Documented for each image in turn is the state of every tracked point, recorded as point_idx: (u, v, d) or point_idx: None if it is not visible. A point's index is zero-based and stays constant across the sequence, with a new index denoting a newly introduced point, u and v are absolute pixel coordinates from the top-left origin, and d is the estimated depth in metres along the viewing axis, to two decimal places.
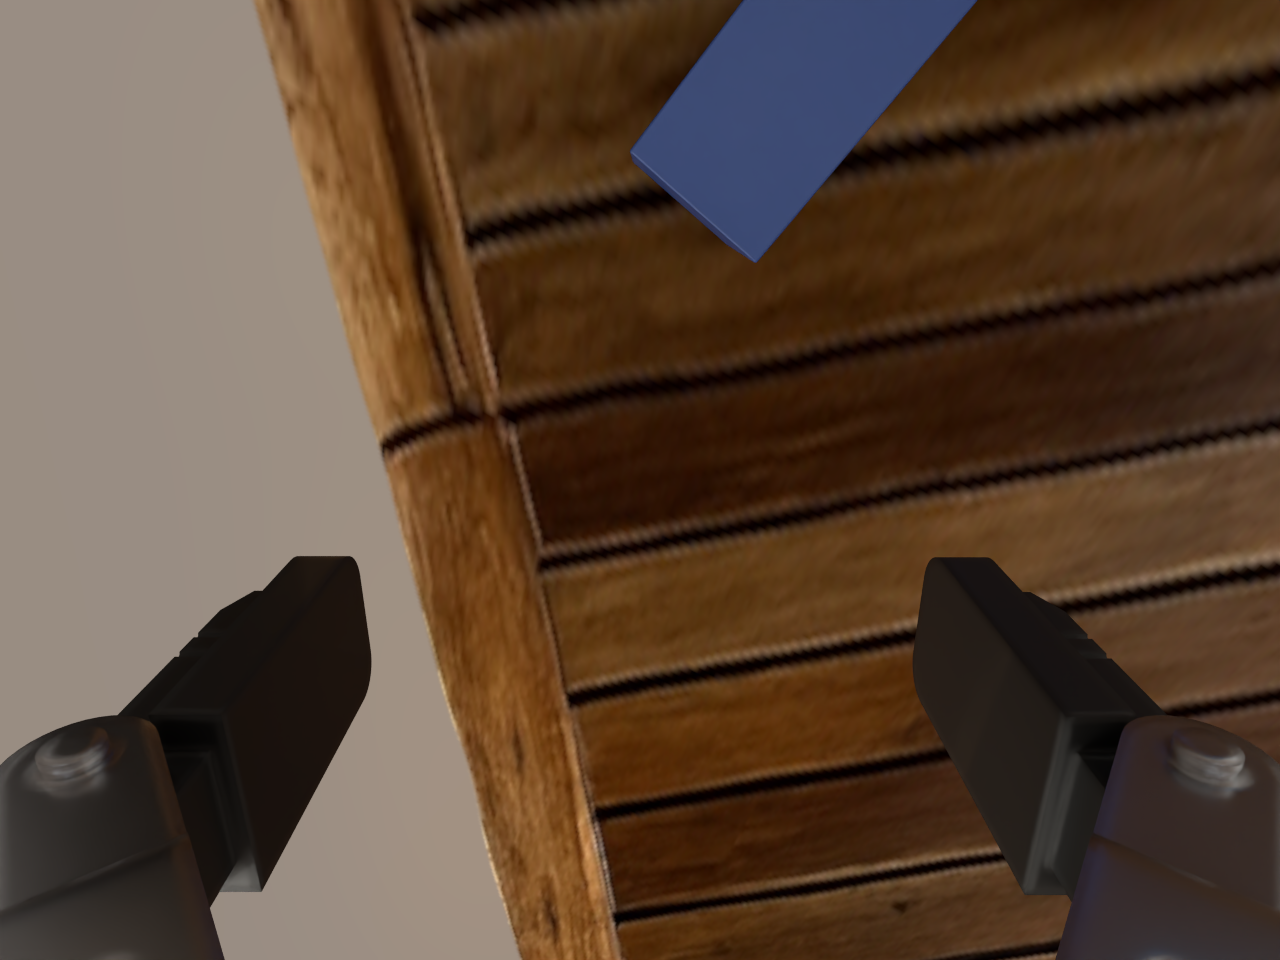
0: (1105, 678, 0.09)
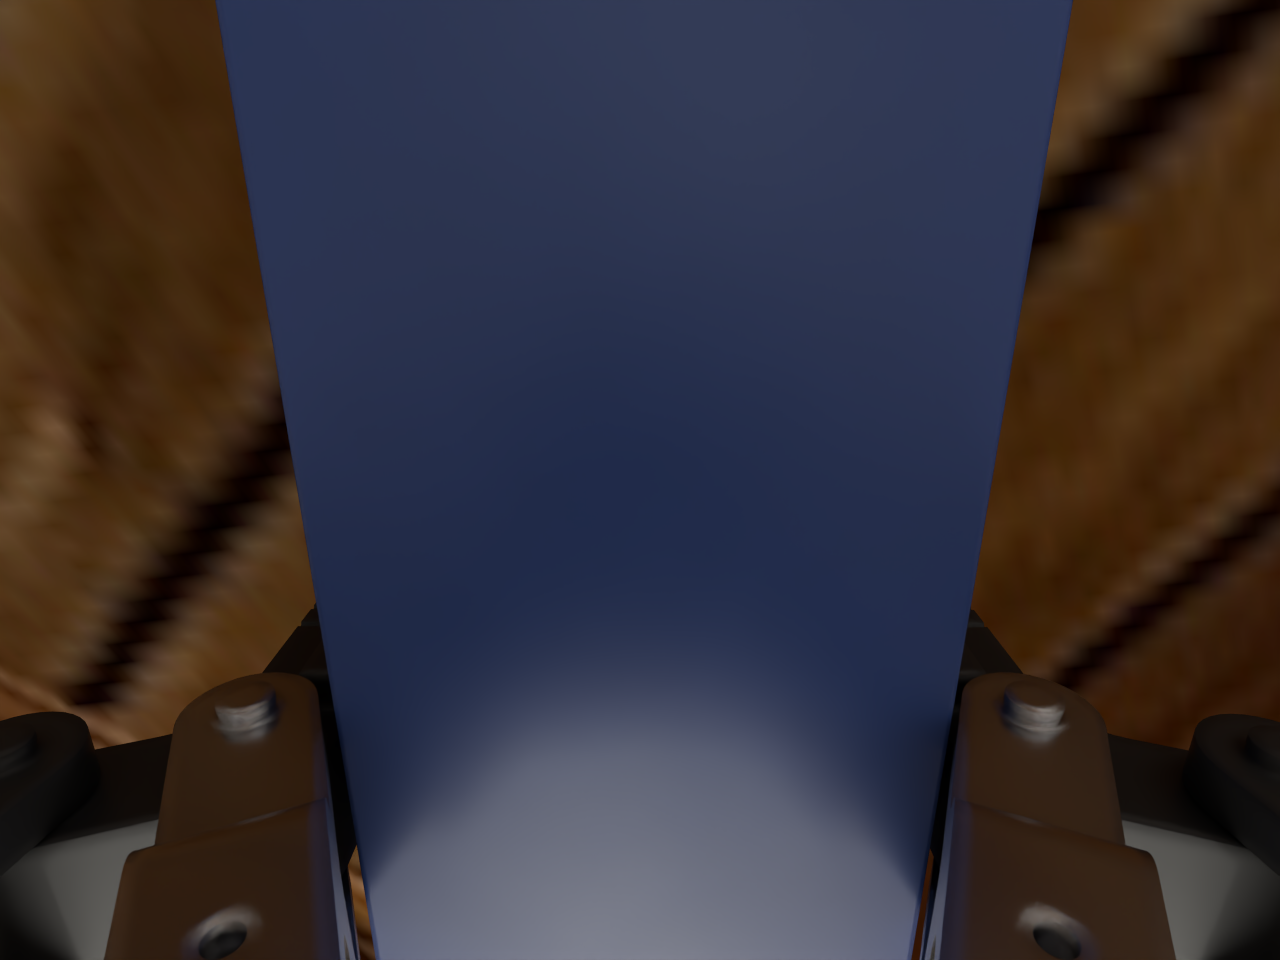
0: (976, 644, 0.09)
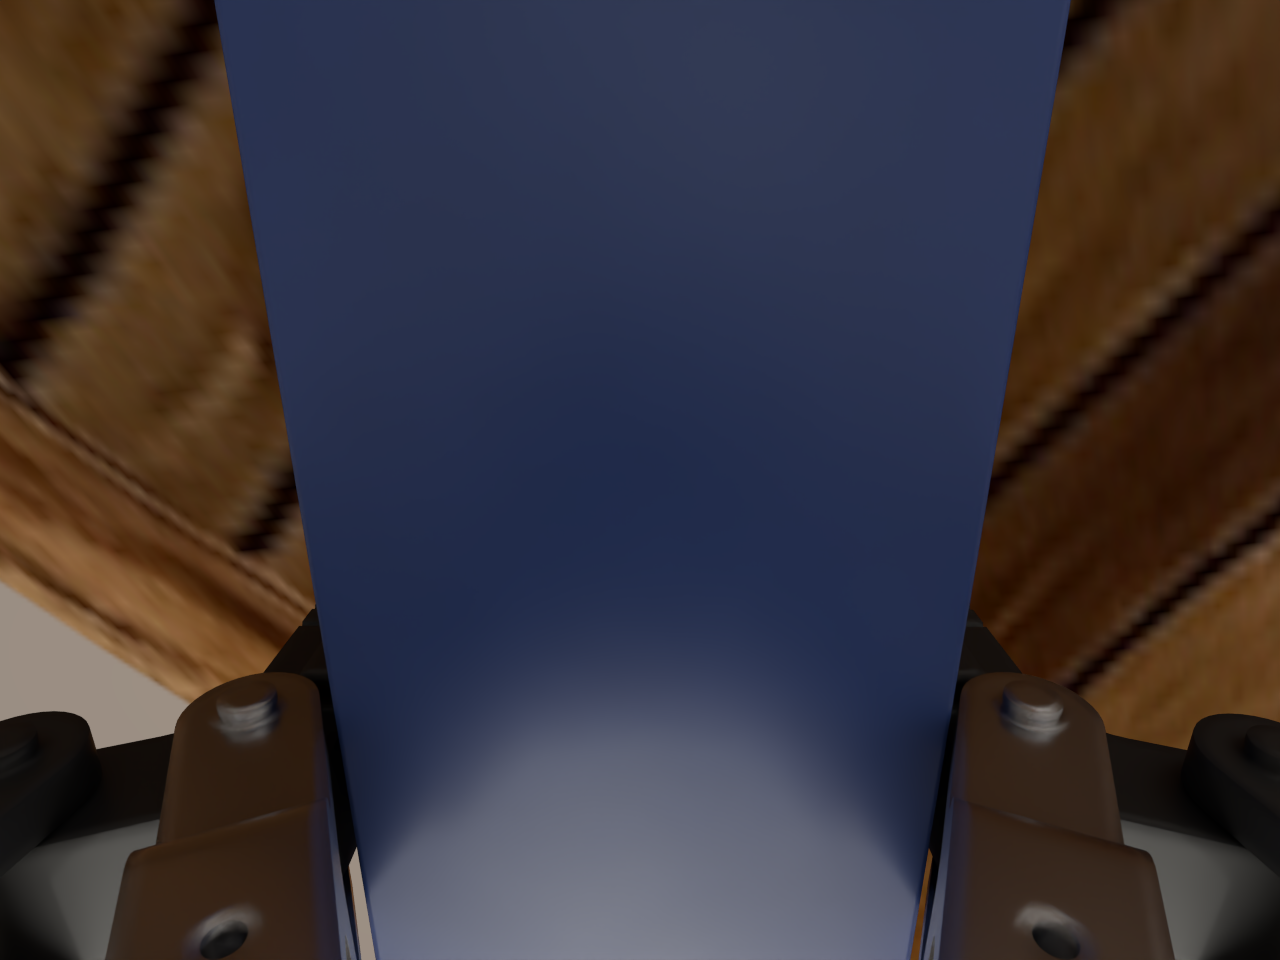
0: (975, 644, 0.09)
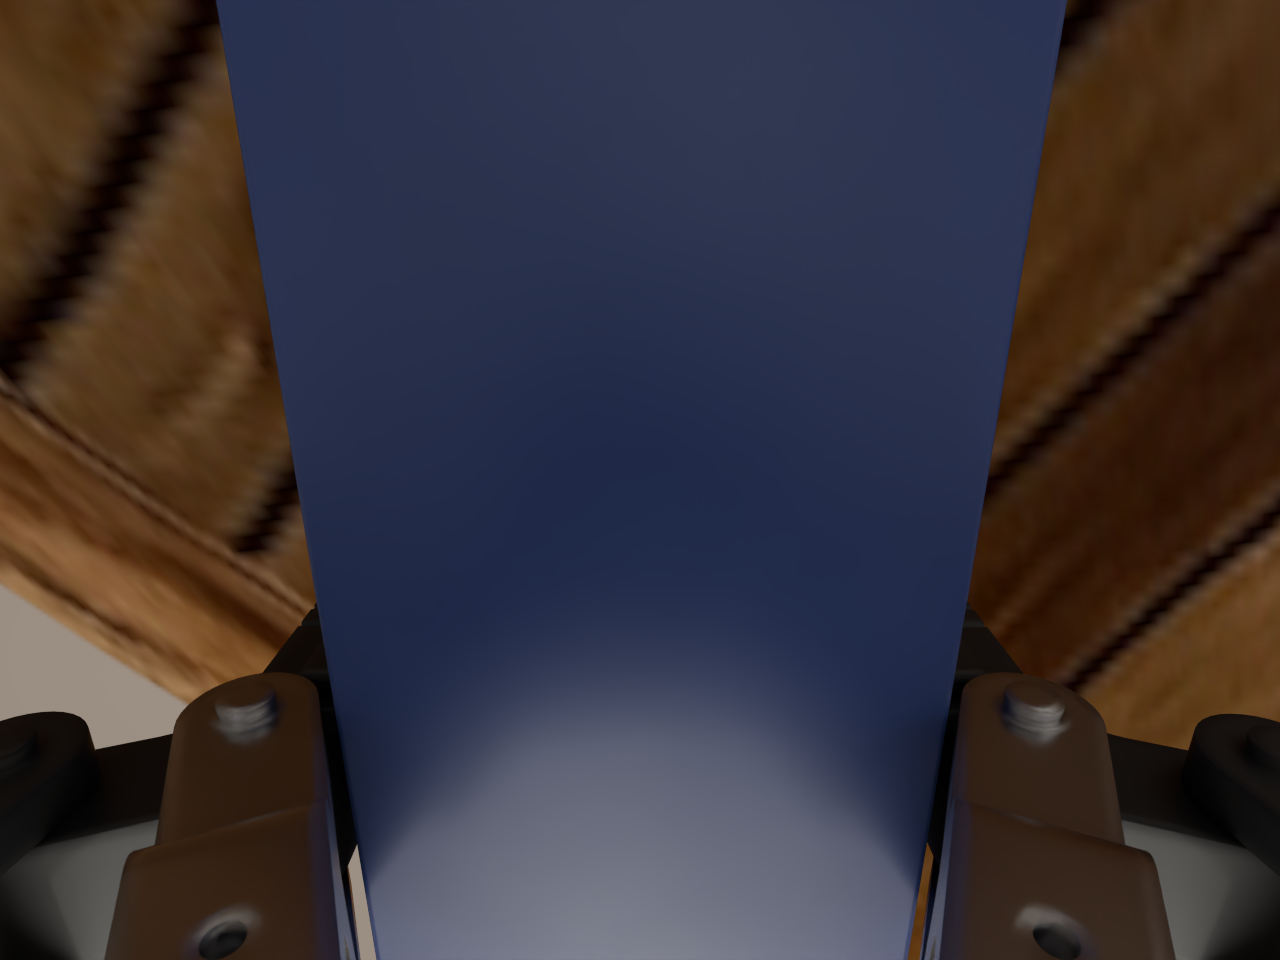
0: (976, 644, 0.09)
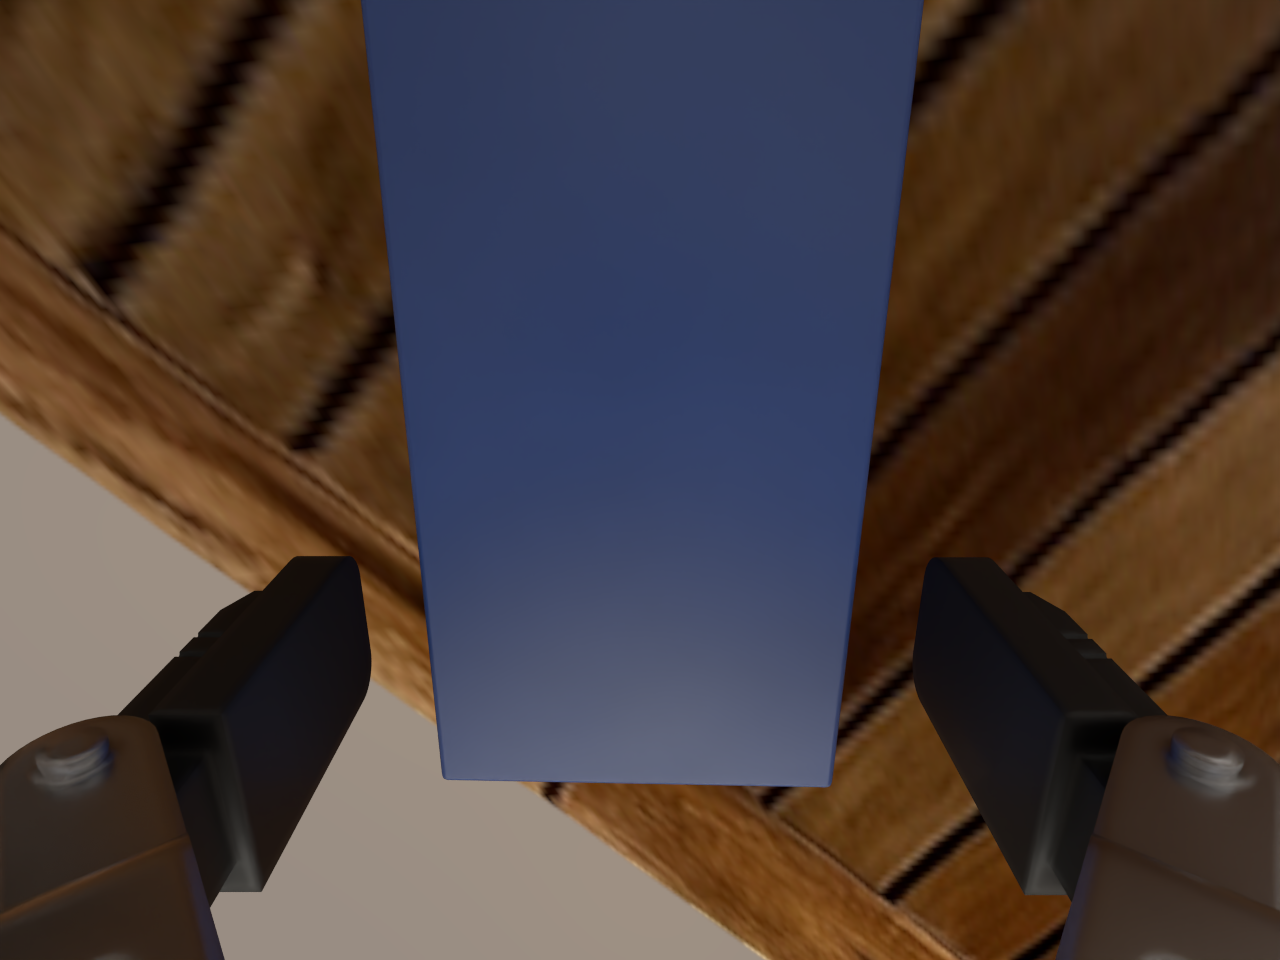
0: (1105, 678, 0.09)
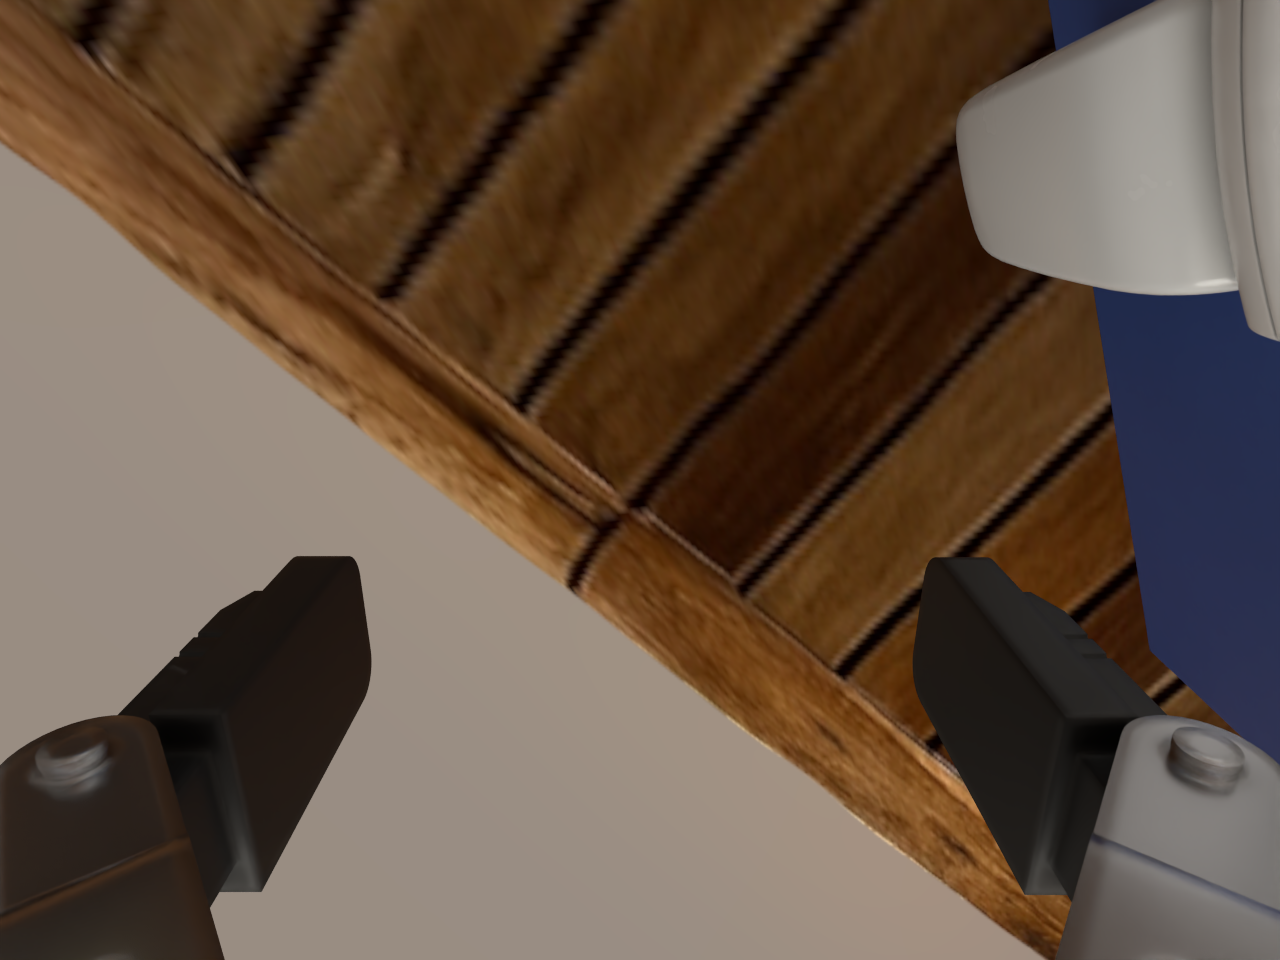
0: (1105, 678, 0.09)
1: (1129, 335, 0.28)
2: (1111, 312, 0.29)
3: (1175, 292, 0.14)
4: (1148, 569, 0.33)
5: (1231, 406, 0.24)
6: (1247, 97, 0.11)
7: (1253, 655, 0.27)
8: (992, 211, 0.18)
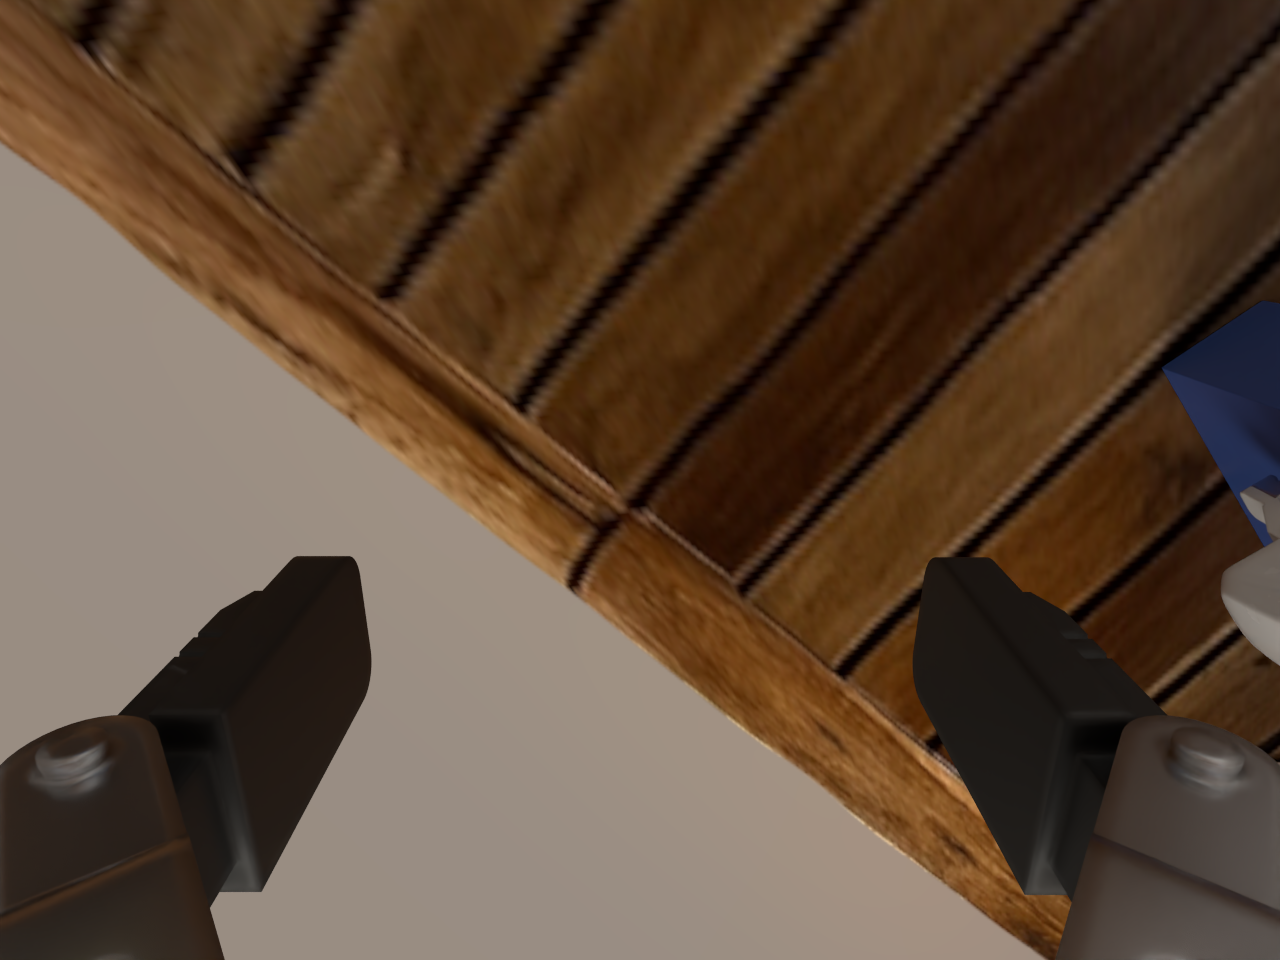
0: (1105, 678, 0.09)
1: None
2: (1265, 533, 0.44)
3: None
4: None
5: None
6: None
7: None
8: (1260, 642, 0.32)
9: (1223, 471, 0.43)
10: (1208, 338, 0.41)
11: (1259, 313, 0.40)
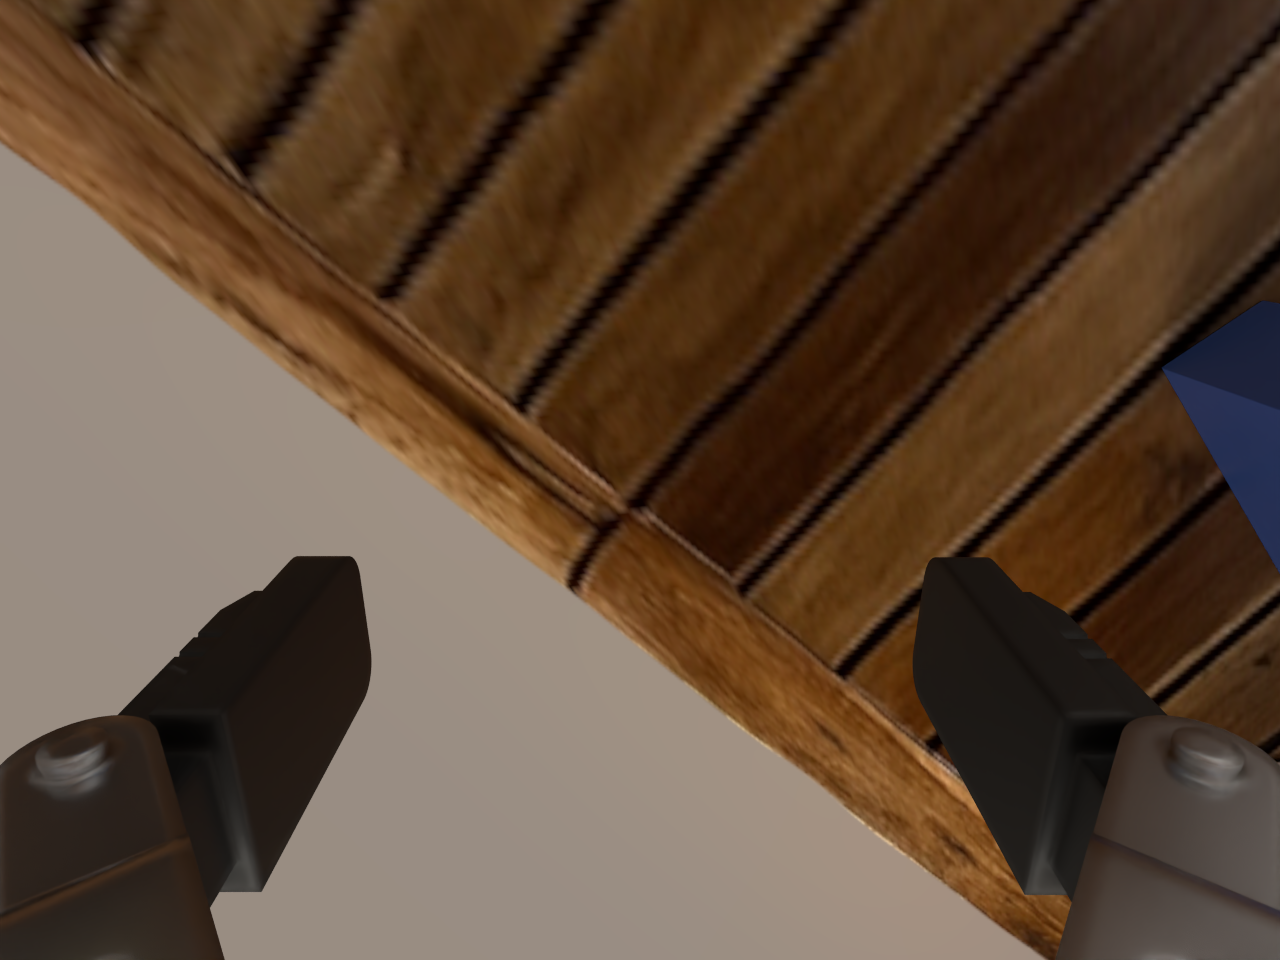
0: (1105, 678, 0.09)
1: None
2: (1265, 533, 0.44)
3: None
4: None
5: None
6: None
7: None
8: None
9: (1223, 471, 0.43)
10: (1208, 338, 0.41)
11: (1259, 313, 0.40)
